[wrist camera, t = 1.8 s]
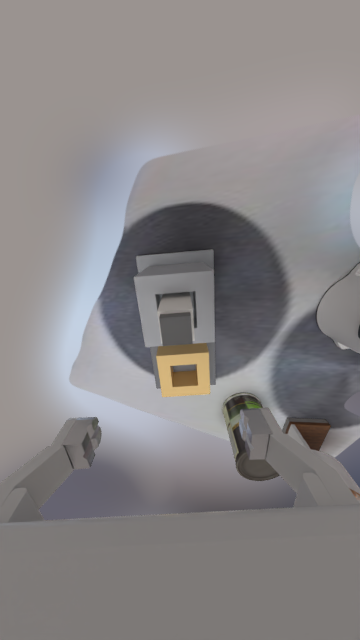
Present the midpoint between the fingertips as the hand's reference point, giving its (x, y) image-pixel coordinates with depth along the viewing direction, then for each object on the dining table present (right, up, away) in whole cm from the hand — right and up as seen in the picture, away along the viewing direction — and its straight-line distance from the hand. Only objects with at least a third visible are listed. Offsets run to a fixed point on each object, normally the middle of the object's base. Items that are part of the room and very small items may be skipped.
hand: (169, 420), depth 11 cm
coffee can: (+17, -17, +40) cm, 46 cm away
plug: (0, +8, +18) cm, 20 cm away
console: (+1, +5, +31) cm, 31 cm away
